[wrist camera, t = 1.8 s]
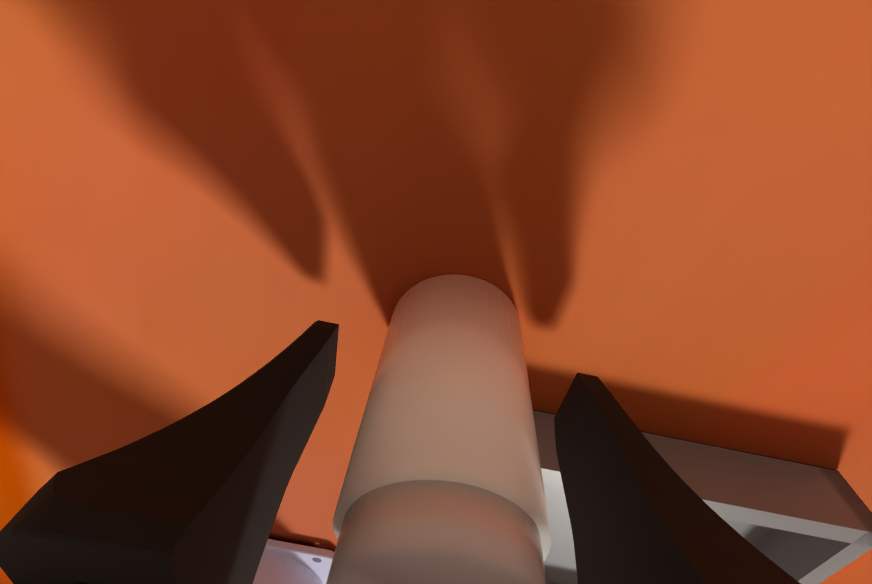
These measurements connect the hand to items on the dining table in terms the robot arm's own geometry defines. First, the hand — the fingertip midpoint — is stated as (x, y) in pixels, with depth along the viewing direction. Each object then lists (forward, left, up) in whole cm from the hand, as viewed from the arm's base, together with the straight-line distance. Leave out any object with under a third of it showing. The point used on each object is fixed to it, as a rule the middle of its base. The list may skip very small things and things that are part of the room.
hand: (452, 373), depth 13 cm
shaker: (0, 0, -2) cm, 2 cm away
